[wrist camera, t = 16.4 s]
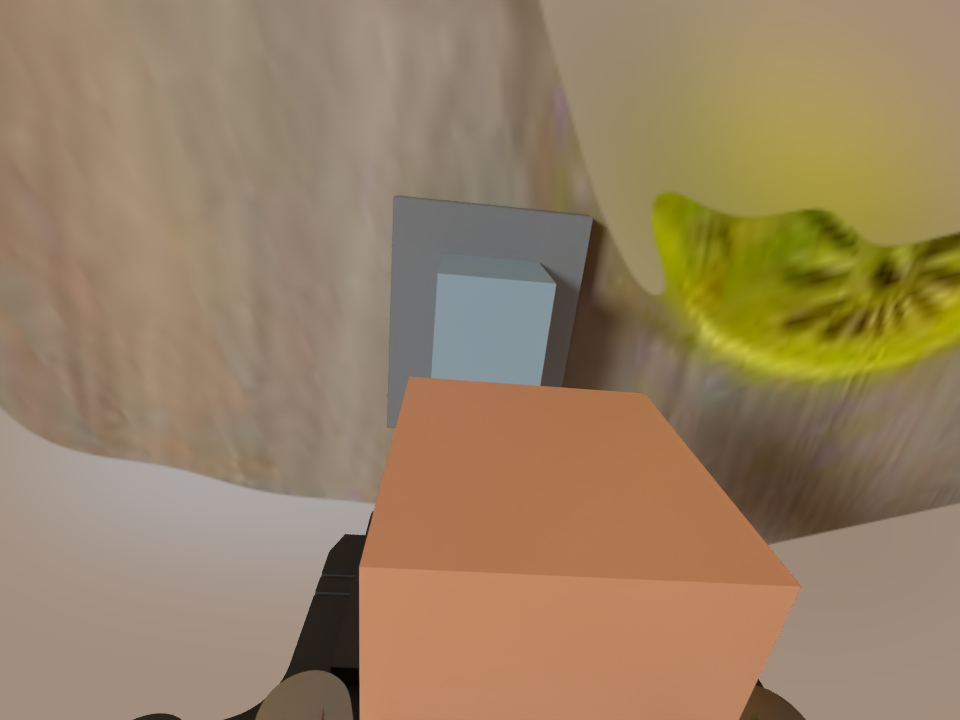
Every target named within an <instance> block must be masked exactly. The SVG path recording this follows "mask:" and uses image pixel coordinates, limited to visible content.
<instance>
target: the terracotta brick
mask: <svg viewBox="0 0 960 720" xmlns="http://www.w3.org/2000/svg"><path fill="white" fill-rule="evenodd" d="M800 589H801V585H800V584H799V583H798V582H797V581H796V579H795V578H794V577H793V576H792V575H791V573H790V572H789V571H788V570H787V568H786V567H785V566H784V565H783V563H782V562H781V561H780V560H779V558H778V557H777V556H776V555H775V554H774V552H773V551H772V550H771V549H770V547H769V546H768V545H767V544H766V542H765V541H764V540H763V539H762V537H761V536H760V535H759V534H758V533H757V531H756V530H755V529H754V528H753V526H752V525H751V524H750V523H749V521H748V520H747V519H746V518H745V517H744V515H743V514H742V513H741V512H740V510H739V509H738V508H737V507H736V505H735V504H734V503H733V502H732V501H731V499H730V498H729V497H728V496H727V494H726V493H725V492H724V491H723V489H722V488H721V487H720V486H719V485H718V483H717V482H716V481H715V480H714V478H713V477H712V476H711V475H710V473H709V472H708V471H707V470H706V469H705V467H704V466H703V465H702V464H701V462H700V461H699V460H698V459H697V457H696V456H695V455H694V454H693V453H692V451H691V450H690V449H689V448H688V446H687V445H686V444H685V443H684V441H683V440H682V439H681V438H680V437H679V435H678V434H677V433H676V432H675V430H674V429H673V428H672V427H671V425H670V424H669V423H668V422H667V421H666V419H665V418H664V417H663V416H662V414H661V413H660V412H659V411H658V409H657V408H656V407H655V406H654V405H653V403H652V402H651V401H650V400H649V398H648V397H647V396H646V395H645V393H631V392H618V391H604V390H590V389H576V388H562V387H548V386H534V385H520V384H506V383H493V382H479V381H465V380H451V379H437V378H423V377H409V379H408V383H407V387H406V391H405V394H404V398H403V402H402V406H401V410H400V413H399V417H398V421H397V425H396V429H395V432H394V436H393V440H392V444H391V448H390V451H389V455H388V459H387V463H386V467H385V470H384V474H383V478H382V482H381V486H380V489H379V493H378V497H377V501H376V505H375V508H374V512H373V516H372V520H371V524H370V528H369V531H368V535H367V539H366V543H365V547H364V550H363V554H362V558H361V562H360V566H359V681H360V720H739V719H740V717H741V714H742V712H743V710H744V708H745V706H746V704H747V702H748V700H749V697H750V695H751V693H752V691H753V689H754V687H755V685H756V683H757V680H758V678H759V676H760V674H761V672H762V670H763V667H764V665H765V663H766V661H767V659H768V657H769V655H770V653H771V650H772V648H773V646H774V644H775V642H776V640H777V638H778V636H779V634H780V632H781V629H782V627H783V625H784V623H785V621H786V619H787V617H788V615H789V612H790V610H791V608H792V606H793V604H794V602H795V600H796V598H797V595H798V593H799V591H800Z"/></svg>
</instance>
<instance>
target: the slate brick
mask: <svg viewBox="0 0 960 720" xmlns="http://www.w3.org/2000/svg"><path fill="white" fill-rule="evenodd" d="M555 290H556V283H555V281H554V280H553V279H552V278H551V277H550V275H549V274H548V273H547V272H546V270H545V269H544V268H543V267H542V266H541V264H540V263H539V262H532V261H521V260H510V259H499V258H488V257H477V256H466V255H455V254H444V253H443V254H442V258H441V262H440V266H439V270H438V275H437V291H436V307H435V324H434V340H433V356H432V372H431V378H437V379H451V380H465V381H479V382H493V383H506V384H520V385H534V386H540V384H541V378H542V372H543V365H544V359H545V353H546V346H547V340H548V334H549V327H550V321H551V315H552V308H553V302H554V296H555Z"/></svg>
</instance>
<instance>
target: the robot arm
mask: <svg viewBox="0 0 960 720" xmlns="http://www.w3.org/2000/svg"><path fill="white" fill-rule="evenodd" d="M373 512H374V511H373ZM373 512H372V513H371V516H370V520H369V524H368V528H367V532H366V535H348V534H345V535H344V536H343V537H342V538H341V539H340V541H339V542H338V543H337V544H336V545H335V546H334V547H333V548H332V549H331V550H330V552H329V554H328V557H327V560H326V563H325V566H324V569H323V571H322V576H321V578H320V580H319V583H318V586H317V588H316V593H315V596H314V597H313V600H312V603H311V606H310V608H309V611H308V614H307V617H306V620H305V623H304V626H303V628H302V631H301V634H300V637H299V640H298V643H297V646H296V648H295V651H294V654H293V657H292V660H291V663H290V666H289V668H288V670H287V672H286V674H285V676H284V678H283V680H282V681H281V682H280V684H279V685H278V686H276V687H275V688H274V689H273V690H272V691H271V692H270V694H269V695H268V696H267V697H266V698H265V699H264V700H263V701H262V702H261V703H259V704H258V705H256V706H255V707H253V708H252V709H250V710H248V711H246V712H244V713H242V714H239V715H237V716H234V717H231V718H228V719H225V720H360V681H359V566H360V562H361V558H362V554H363V550H364V547H365V543H366V539H367V535H368V531H369V528H370V524H371V520H372V516H373ZM134 720H181V719H180V718H178V717H176V716H174V715H170V714H151V715H146V716H142V717H139V718H136V719H134ZM739 720H805V718H804V717H803V716H802V715H801V714H800V712H799V711H797V709H795V708H794V707H793V706H792V705H791V704H790V703H789V702H787V701H786V700H785V699H783V698H782V697H781V696H779V695H777V694H775V693H774V692H772V691H770V690H768V689H765V688H764V687H763V686H762V684H761V682H760V681H759V679H758V680H757V683H756V685H755V687H754V689H753V691H752V693H751V695H750V697H749V700H748V702H747V704H746V706H745V708H744V710H743V712H742V714H741V717H740V719H739Z"/></svg>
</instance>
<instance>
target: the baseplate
mask: <svg viewBox="0 0 960 720" xmlns="http://www.w3.org/2000/svg"><path fill="white" fill-rule="evenodd" d="M592 222H593V217H592V216H589V215H583V214H573V213H563V212H553V211H544V210H534V209H524V208H514V207H505V206H495V205H485V204H475V203H465V202H456V201H446V200H436V199H426V198H416V197H407V196H394V198H393V233H392V269H391V304H390V339H389V375H388V410H387V428H396V425H397V421H398V417H399V413H400V410H401V406H402V402H403V398H404V394H405V391H406V387H407V383H408V379H409V377H423V378H431V372H432V356H433V340H434V324H435V307H436V291H437V275H438V270H439V266H440V262H441V258H442V254H443V253H444V254H455V255H466V256H477V257H488V258H499V259H510V260H521V261H532V262H539V263H540V264H541V266H542V267H543V268H544V269H545V270H546V272H547V273H548V274H549V275H550V277H551V278H552V279H553V280H554V281H555V283H556V290H555V296H554V302H553V308H552V315H551V321H550V327H549V334H548V340H547V346H546V353H545V359H544V365H543V372H542V378H541V384H540V386H548V387H562V386H563V381H564V375H565V370H566V364H567V359H568V353H569V348H570V342H571V337H572V331H573V326H574V320H575V315H576V309H577V304H578V298H579V293H580V288H581V282H582V277H583V271H584V266H585V260H586V255H587V249H588V244H589V238H590V233H591V227H592Z"/></svg>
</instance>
